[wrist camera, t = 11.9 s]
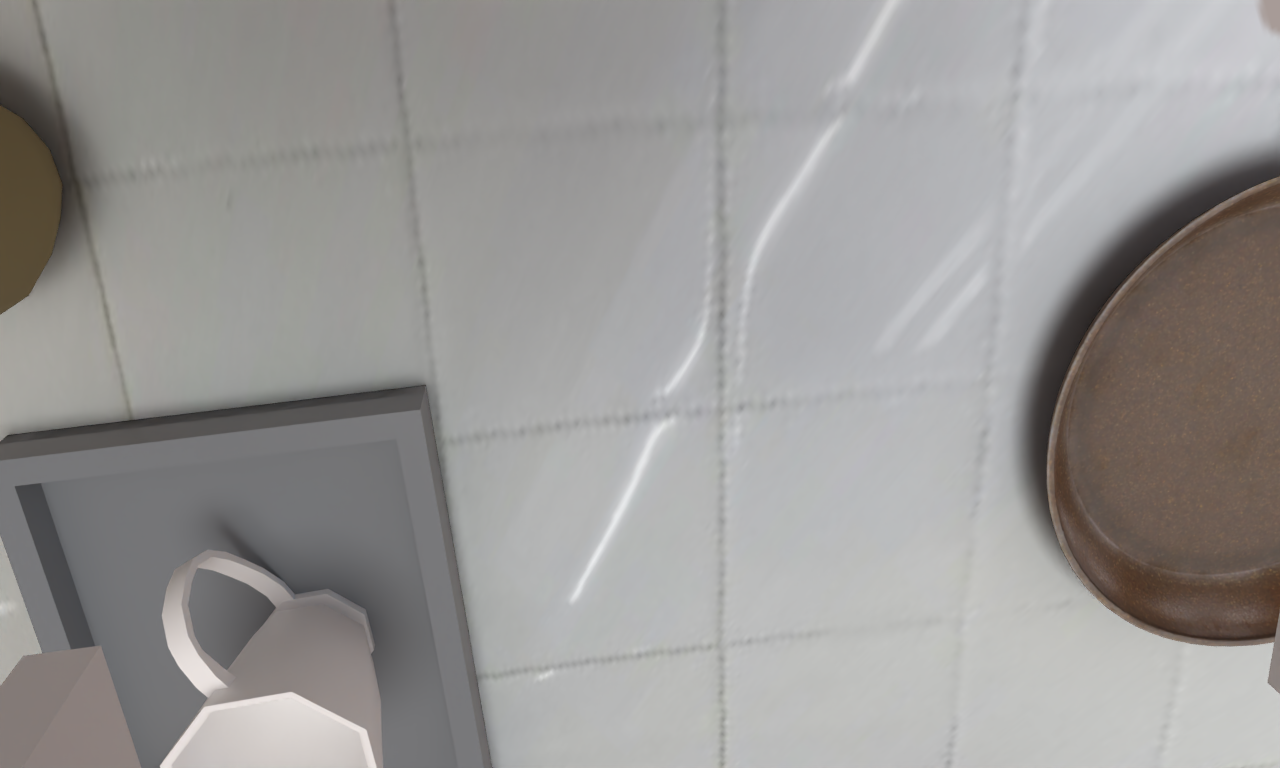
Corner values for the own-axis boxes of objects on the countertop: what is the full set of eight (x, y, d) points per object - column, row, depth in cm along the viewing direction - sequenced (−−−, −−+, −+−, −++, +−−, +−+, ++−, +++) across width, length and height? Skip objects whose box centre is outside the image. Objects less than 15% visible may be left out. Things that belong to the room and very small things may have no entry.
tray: (7, 435, 36) (-26, 463, 34) (425, 385, 38) (420, 409, 35) (151, 856, 44) (131, 902, 41) (498, 803, 45) (497, 845, 43)
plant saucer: (1151, 686, 47) (1196, 734, 44) (919, 375, 40) (953, 406, 37) (1546, 416, 45) (1623, 447, 41) (1371, 30, 37) (1449, 33, 34)
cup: (298, 736, 41) (251, 899, 34) (136, 558, 38) (42, 696, 30) (443, 655, 41) (428, 802, 33) (292, 467, 37) (237, 584, 30)
